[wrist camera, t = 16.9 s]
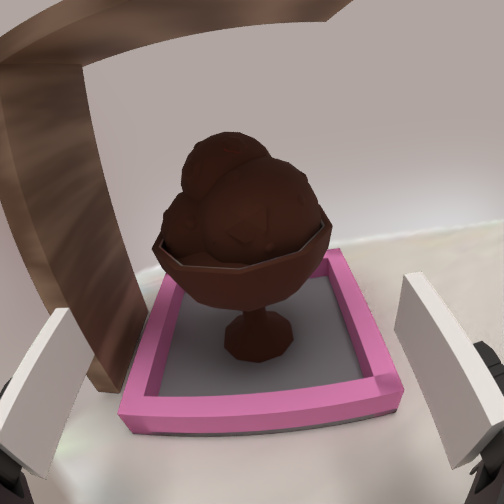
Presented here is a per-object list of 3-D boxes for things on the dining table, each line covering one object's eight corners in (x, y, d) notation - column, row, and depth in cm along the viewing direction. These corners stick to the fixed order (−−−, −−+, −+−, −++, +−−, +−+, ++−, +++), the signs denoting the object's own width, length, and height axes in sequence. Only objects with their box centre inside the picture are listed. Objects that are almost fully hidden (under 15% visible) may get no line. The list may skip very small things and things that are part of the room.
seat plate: (339, 269, 31) (339, 248, 30) (395, 412, 16) (404, 390, 15) (174, 288, 32) (167, 268, 31) (133, 433, 17) (117, 413, 16)
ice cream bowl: (161, 356, 23) (94, 165, 16) (244, 282, 31) (218, 123, 24) (279, 418, 17) (244, 161, 10) (349, 312, 25) (350, 120, 18)
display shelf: (340, 284, 29) (323, 4, 17) (374, 373, 20) (376, -48, 8) (132, 306, 30) (65, 57, 18) (98, 391, 21) (-27, 57, 9)
